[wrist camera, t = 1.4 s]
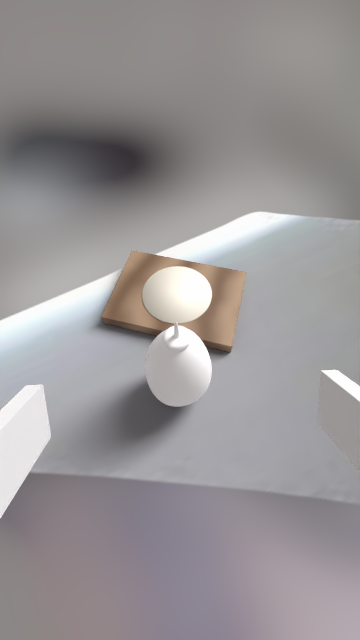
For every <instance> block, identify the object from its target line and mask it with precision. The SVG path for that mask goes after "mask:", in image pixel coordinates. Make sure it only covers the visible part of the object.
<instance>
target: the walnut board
mask: <svg viewBox="0 0 360 640" xmlns="http://www.w3.org/2000/svg"><path fill="white" fill-rule="evenodd" d="M245 277H246V272H243V271H237V270H232V269H227V268H222V267H216V266H211V265H206V264H200V263H195V262H190V261H185V260H179V259H174V258H169V257H163V256H158V255H153V254H148V253H142V252H137V251H132V252H131V254H130V256H129V258H128V261H127V263H126V265H125V267H124V269H123V271H122V273H121V275H120V278H119V280H118V282H117V284H116V286H115V288H114V291H113V293H112V295H111V297H110V299H109V301H108V303H107V306H106V308H105V310H104V312H103V314H102V316H101V317H102V320H103V322H104V324H108V325H113V326H117V327H122V328H126V329H130V330H135V331H139V332H143V333H148V334H152V335H157V336H158V335H159V334H160V333H162V332H163V331H165V330H167V329H168V328H170V327H172V326H174V324H175V322H177V323H178V326H183V327H185V328H187V329H189V330H191V331H193V332H194V333H195V334H196V335H197V336H198V337H199V338H200V339H201V340H202V342H203V343H204V345H205V347H209V348H213V349H218V350H222V351H226V352H231V349H232V346H233V341H234V335H235V330H236V325H237V319H238V314H239V309H240V304H241V298H242V293H243V288H244V282H245Z"/></svg>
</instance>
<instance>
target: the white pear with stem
mask: <svg viewBox="0 0 360 640" xmlns="http://www.w3.org/2000/svg"><path fill="white" fill-rule="evenodd" d="M145 373H146V379H147V382H148V385H149V387H150V389H151V391H152V393H153V394H154V395H155V397H156V398H157V399H158V400H159V401H161V402H162V403H164V404H166V405H169V406H174V407H179V406H186V405H189V404H191V403H194V402H195V401H197V400H198V399H199V398H201V397H202V396H203V395H204V393H205V392H206V390H207V389H208V386H209V384H210V381H211V373H212V368H211V360H210V357H209V353H208V351H207V349H206V347H205V345H204V343H203V342H202V340H201V339H200V338H199V337H198V336H197V335H196V334H195V333H194V332H193V331H191V330H189V329H187V328H185V327H183V326H178V323H177V322H175V324H174V326H172V327H170V328H168V329H167V330H165V331H163V332H162V333H160V334H159V335H158V336H157V337H156V338H155V339H154V340H153V342H152V343H151V345H150V347H149V349H148V351H147V355H146V360H145Z"/></svg>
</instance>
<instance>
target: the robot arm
mask: <svg viewBox="0 0 360 640" xmlns="http://www.w3.org/2000/svg"><path fill="white" fill-rule="evenodd" d="M317 423H318V424H319V425H320V426H321V428H322V429H323V430H324V431H325V432H326V433H327V435H328V436H329V437H330V438H331V439H332V440H333V442H334V443H335V444H336V445H337V446H338V447H339V449H340V450H341V451H342V452H343V453H344V454H345V456H346V457H347V458H348V459H349V460H350V461H351V463H352V464H353V465H354V466H355V467H356V468H357V470H358V471H359V472H360V386H358V385H357V384H356V383H354V382H353V381H352V380H350V379H349V378H347V377H346V376H345V375H343V374H342V373H340V372H339V371H338V370H323V371H321V375H320V388H319V400H318V412H317ZM50 438H51V433H50V427H49V420H48V414H47V408H46V401H45V395H44V389H43V385H26V386H25V387H24V388H23V389H22V390H21V391H20V392H19V393H18V394H17V395H16V396H15V397H14V398H13V399H12V400H11V401H10V402H8V403H7V404H6V405H5V406H4V407H3V408H2V409H1V410H0V518H1V516H2V515H3V513H4V511H5V510H6V508H7V507H8V505H9V504H10V502H11V500H12V499H13V497H14V496H15V494H16V492H17V491H18V489H19V488H20V486H21V484H22V483H23V481H24V479H25V478H26V476H27V475H28V473H29V471H30V470H31V468H32V467H33V465H34V463H35V462H36V460H37V459H38V457H39V455H40V454H41V452H42V451H43V449H44V447H45V446H46V444H47V443H48V441H49V439H50Z"/></svg>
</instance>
